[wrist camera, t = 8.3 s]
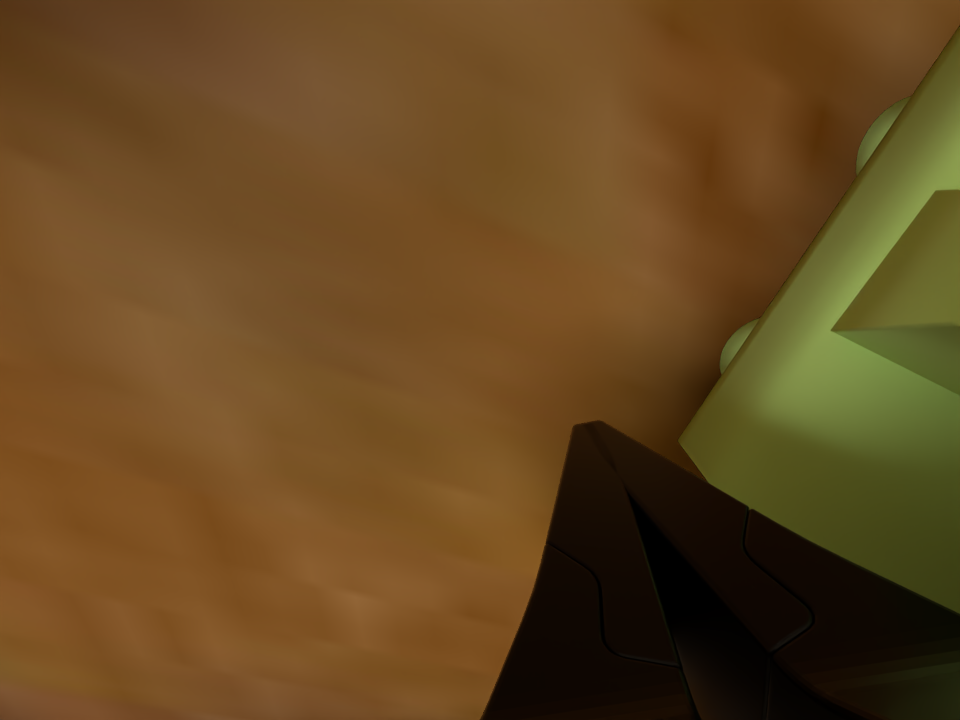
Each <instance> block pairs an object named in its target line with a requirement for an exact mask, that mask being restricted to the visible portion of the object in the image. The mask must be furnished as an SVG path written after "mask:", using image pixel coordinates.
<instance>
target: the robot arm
mask: <svg viewBox="0 0 960 720" xmlns="http://www.w3.org/2000/svg"><path fill="white" fill-rule="evenodd" d="M480 720H960V613H957V612H955V611H953V610H951V609H949V608H947V607H945V606H943V605H941V604H939V603H937V602H935V601H932V600H930V599H928V598H926V597H924V596H922V595H920V594H918V593H916V592H914V591H912V590H910V589H908V588H905V587H903V586H901V585H899V584H897V583H895V582H893V581H891V580H889V579H887V578H885V577H883V576H880V575H878V574H876V573H874V572H872V571H870V570H868V569H866V568H864V567H862V566H860V565H858V564H855V563H853V562H851V561H849V560H847V559H845V558H843V557H842V556H840V555H838V554H836V553H834V552H832V551H830V550H828V549H826V548H824V547H822V546H820V545H818V544H816V543H814V542H812V541H810V540H808V539H806V538H804V537H802V536H801V535H799V534H797V533H795V532H793V531H792V530H790V529H788V528H786V527H784V526H783V525H781V524H779V523H777V522H775V521H774V520H772V519H770V518H768V517H767V516H765V515H763V514H761V513H760V512H758V511H756V510H755V509H750V510H749V507H748V506H747V505H746V504H744V503H742V502H740V501H739V500H737V499H735V498H734V497H732V496H730V495H728V494H727V493H725V492H723V491H722V490H720V489H718V488H716V487H715V486H713V485H711V484H710V483H708V482H706V481H704V480H703V479H701V478H699V477H697V476H696V475H694V474H692V473H691V472H689V471H687V470H685V469H684V468H682V467H680V466H679V465H677V464H675V463H673V462H672V461H670V460H668V459H667V458H665V457H663V456H661V455H660V454H658V453H656V452H654V451H653V450H651V449H649V448H648V447H646V446H644V445H642V444H641V443H639V442H637V441H636V440H634V439H632V438H630V437H629V436H627V435H625V434H623V433H622V432H620V431H618V430H617V429H615V428H613V427H611V426H610V425H608V424H606V423H605V422H603V421H600V420H597V421H592V422H587V423H581V424H576V425H574V426H573V428H572V432H571V437H570V441H569V445H568V450H567V454H566V458H565V462H564V467H563V471H562V475H561V479H560V484H559V488H558V492H557V496H556V501H555V505H554V509H553V513H552V518H551V522H550V526H549V530H548V535H547V539H546V545H545V547H544V551H543V555H542V559H541V563H540V567H539V570H538V574H537V578H536V581H535V585H534V588H533V591H532V594H531V597H530V599H529V602H528V605H527V608H526V610H525V613H524V616H523V618H522V621H521V624H520V626H519V628H518V631H517V633H516V636H515V638H514V641H513V643H512V645H511V648H510V650H509V653H508V655H507V657H506V660H505V662H504V665H503V667H502V670H501V672H500V674H499V677H498V679H497V682H496V684H495V687H494V689H493V691H492V694H491V696H490V699H489V701H488V703H487V706H486V708H485V710H484V712H483V715H482V717H481V719H480Z"/></svg>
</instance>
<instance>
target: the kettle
mask: <svg viewBox="0 0 960 720" xmlns="http://www.w3.org/2000/svg"><path fill="white" fill-rule="evenodd" d="M856 175H857V177H856V178H855V180H854V181H853V183H852V184H851V186H850V187H849V188H848V190H847V191H846V193H845V194H844V196H843V197H842V199H841V200H840V202H839V203H838V205H837V206H836V208H835V209H834V210H833V212H832V213H831V215H830V216H829V218H828V219H827V221H826V222H825V224H824V225H823V227H822V228H821V230H820V231H819V232H818V234H817V235H816V237H815V238H814V240H813V241H812V243H811V244H810V246H809V247H808V249H807V250H806V252H805V253H804V254H803V256H802V257H801V259H800V260H799V262H798V263H797V265H796V266H795V268H794V269H793V271H792V272H791V274H790V275H789V277H788V278H787V279H786V281H785V282H784V284H783V285H782V287H781V288H780V290H779V291H778V293H777V294H776V296H775V297H774V299H773V300H772V302H771V303H770V305H769V306H768V307H767V309H766V310H765V312H764V313H763V315H762V316H761V318H758V319H755V320H753V321H751V322H749V323H747V324H745V325H744V326H742V327H741V328H739V329H738V330H737V331H736V332H735V333H734V334H733V335H732V336H731V337H730V339H729V340H728V341H727V343H726V345H725V346H724V348H723V351H722V354H721V357H720V371H721V374H722V375H721V377H720V378H719V380H718V381H717V383H716V384H715V386H714V387H713V388H712V390H711V391H710V393H709V394H708V396H707V397H706V399H705V400H704V402H703V403H702V405H701V406H700V408H699V409H698V411H697V412H696V414H695V415H694V417H693V418H692V420H691V421H690V422H689V424H688V425H687V427H686V428H685V430H684V431H683V433H682V434H681V436H680V437H679V439H678V442H679V444H680V445H681V446H682V448H683V449H684V450H685V452H686V453H687V454H688V456H689V457H690V458H691V460H692V461H693V462H694V464H695V465H696V466H697V468H698V469H699V470H700V472H701V473H702V474H703V476H704V477H705V479H706V480H707V481H708V483H710V484H711V485H713V486H715V487H716V488H718V489H720V490H722V491H723V492H725V493H727V494H728V495H730V496H732V497H734V498H735V499H737V500H739V501H740V502H742V503H744V504H746V505H747V506H748V507H749V510H750V509H755V510H756V511H758V512H760V513H761V514H763V515H765V516H767V517H768V518H770V519H772V520H774V521H775V522H777V523H779V524H781V525H783V526H784V527H786V528H788V529H790V530H792V531H793V532H795V533H797V534H799V535H801V536H802V537H804V538H806V539H808V540H810V541H812V542H814V543H816V544H818V545H820V546H822V547H824V548H826V549H828V550H830V551H832V552H834V553H836V554H838V555H840V556H842V557H843V558H845V559H847V560H849V561H851V562H853V563H855V564H858V565H860V566H862V567H864V568H866V569H868V570H870V571H872V572H874V573H876V574H878V575H880V576H883V577H885V578H887V579H889V580H891V581H893V582H895V583H897V584H899V585H901V586H903V587H905V588H908V589H910V590H912V591H914V592H916V593H918V594H920V595H922V596H924V597H926V598H928V599H930V600H932V601H935V602H937V603H939V604H941V605H943V606H945V607H947V608H949V609H951V610H953V611H955V612H957V613H960V26H959V27H958V29H957V30H956V32H955V33H954V35H953V36H952V38H951V39H950V41H949V42H948V43H947V45H946V46H945V48H944V49H943V51H942V52H941V54H940V55H939V57H938V58H937V60H936V61H935V62H934V64H933V65H932V67H931V68H930V70H929V71H928V73H927V74H926V76H925V77H924V79H923V80H922V81H921V83H920V84H919V86H918V87H917V89H916V90H915V92H914V93H913V95H912V96H910V97H907V98H904V99H902V100H900V101H898V102H896V103H895V104H893V105H892V106H890V107H889V108H888V109H886V110H885V111H884V112H883V113H882V114H881V115H880V116H879V117H878V118H877V119H876V120H875V121H874V123H873V124H872V125H871V127H870V128H869V129H868V131H867V133H866V134H865V136H864V138H863V140H862V142H861V145H860V148H859V150H858V155H857V159H856Z"/></svg>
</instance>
